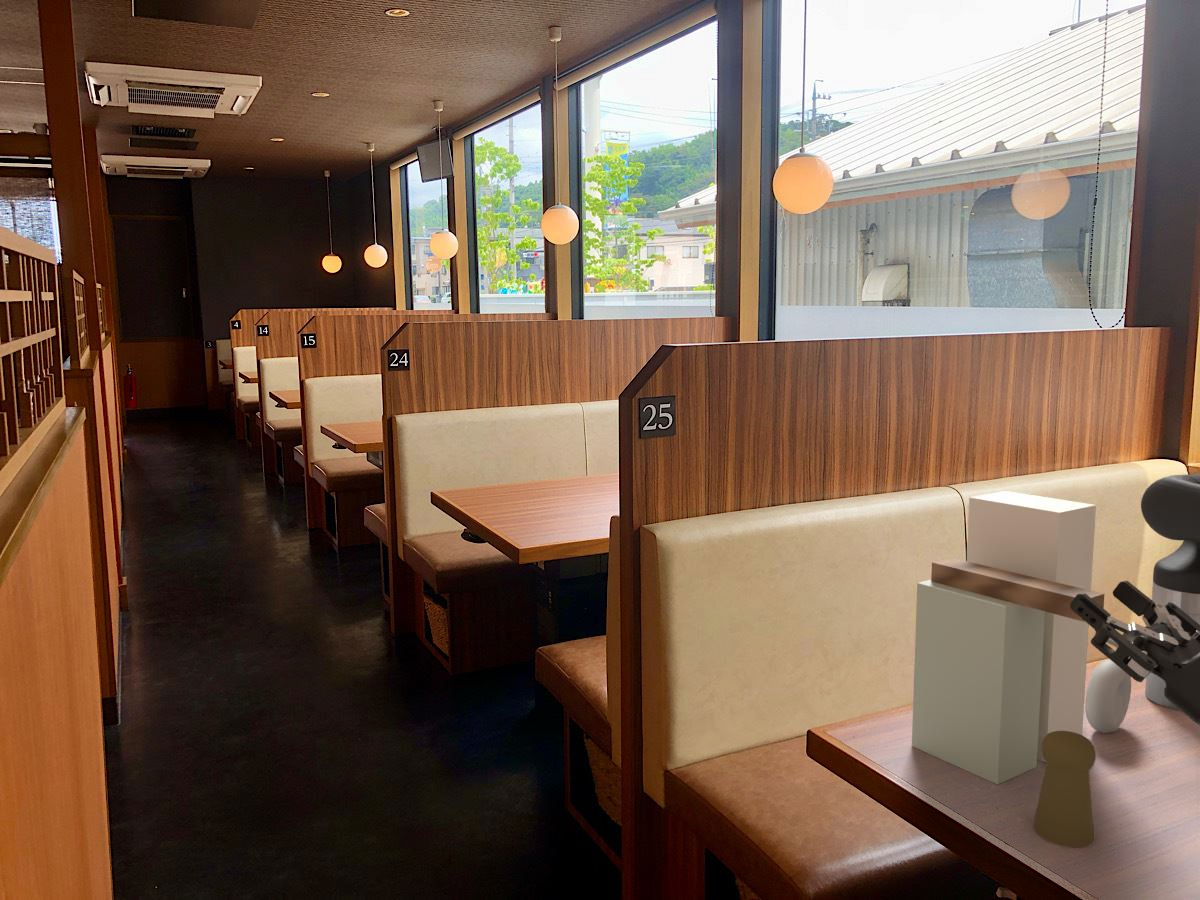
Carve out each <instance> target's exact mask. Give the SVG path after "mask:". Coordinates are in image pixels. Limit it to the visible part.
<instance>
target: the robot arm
mask: <svg viewBox="0 0 1200 900" xmlns="http://www.w3.org/2000/svg"><path fill="white" fill-rule="evenodd" d="M1140 509H1141V514H1142V517H1143V518H1144V520H1145V522H1146V524H1147V525H1148V526H1149V528H1151V530H1153V531H1154V532H1155V533H1156V534H1158V535H1160V536H1161V537H1163V538H1165V539H1168V540H1172V541H1182V543H1181V544H1180V546H1179V547H1178V548H1177V549H1175V551H1173V552H1172V553H1170V554H1169V555H1166V556H1165V557H1162V558H1160V559H1158V561H1156V563H1155V565H1154V567H1153V572H1152V573H1153V574H1152V587H1151V589H1152V590H1151V598H1150V597H1149V596H1147V595H1146V594H1145V593H1143V591H1141V590H1140V589H1139V588H1138V587H1136V586H1135V585H1133V583H1131V582H1130V581H1128V580H1122V581H1120V582H1118V584H1117V585H1116V587H1115V588H1114V589H1113V590H1112V595H1113V597H1114V598H1116V599H1117V600H1118V601H1119V602H1120V603H1122V604H1123V605H1124V606H1126V607H1127V608H1128V609H1129V610H1130V611H1131V612H1132V613H1134V614H1135V615H1136V616H1138V617H1141V620H1142V621H1143V623H1144V624H1145V626H1143V625H1141V624H1138V623H1137V622H1132V623H1126V622H1124V621H1122V620H1119V619H1117V618H1115V617H1113V616H1112V615H1111V613H1110V612H1108V611H1107V610H1106V609H1105V608H1104V609H1103V608H1102V607H1101V606H1100V605H1099V604H1097V603H1096V602H1095V601H1094V600H1093V599H1091V598H1090V597H1089V596H1088V595H1087V594H1085V593H1080V594H1077V595H1076V597H1075V598H1074V599H1073V601H1072V602H1071V604H1070V608H1071V609H1072V610H1073V611H1074V612H1075V613H1076V614H1077V615H1079V616H1080V617H1081V618H1082V619H1083V620H1084V621H1085V622H1087V623H1088V624H1089V627H1091V628H1092V629H1094V632H1095V634H1094V635H1093V637H1092V638H1091V639H1090V644H1091V645H1092V646H1093V647H1094V648H1095V649H1096V650H1098V651H1099V652H1100V653H1102V654H1103V655H1104V656H1105V657H1106V658H1107V659H1110V660H1111V661H1113V662H1114V663H1115V664H1116V665H1117V666H1119V667H1120V668H1121V669H1122V670H1123V671H1125V672H1126V673H1127V674H1128V675H1129V676H1131V679H1133V680H1135V681H1136V682H1138V683H1142V682H1143V681H1144V680H1145V688H1144V689H1145V690H1144V693H1145V696H1146V698H1147V699H1149V701H1152V702H1154V703H1155V704H1157V705H1160V706H1163V707H1166V708H1170V709H1173V710H1177V711H1181V712H1182V713H1183V714H1184V715H1185V716H1187V718H1189V719H1190V720H1191V721H1192V722H1193V723H1194V724H1195V725H1197V726H1198V727H1199V728H1200V473H1195V474H1194V473H1193V474H1173V475H1168V476H1164V477H1161V478H1159V479H1157V480H1155V481H1154V482H1153V483H1151V484H1150V485H1149V486H1148V487H1147V488H1146V489H1145V491H1144V493H1143V495H1142V498H1141V501H1140ZM1120 632H1121V633H1123V634H1121V633H1120ZM1108 644H1109V645H1110V646H1109V645H1108ZM1111 646H1113V647H1115V648H1116V650H1115V649H1113V648H1112V647H1111Z"/></svg>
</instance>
